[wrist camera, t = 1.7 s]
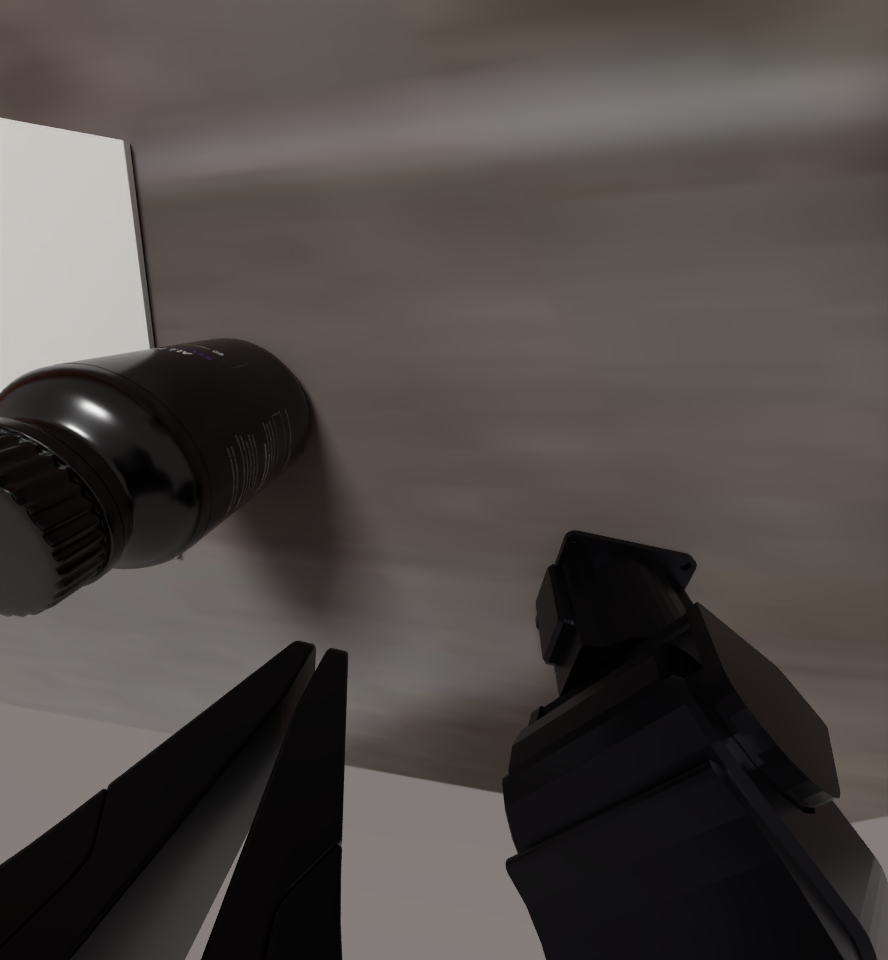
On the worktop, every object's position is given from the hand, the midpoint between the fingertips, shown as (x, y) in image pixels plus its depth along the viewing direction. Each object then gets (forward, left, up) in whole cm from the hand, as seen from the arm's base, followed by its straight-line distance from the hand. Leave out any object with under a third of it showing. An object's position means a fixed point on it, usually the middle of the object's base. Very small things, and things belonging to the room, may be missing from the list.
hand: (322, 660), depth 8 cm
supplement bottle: (+9, 0, -13) cm, 16 cm away
